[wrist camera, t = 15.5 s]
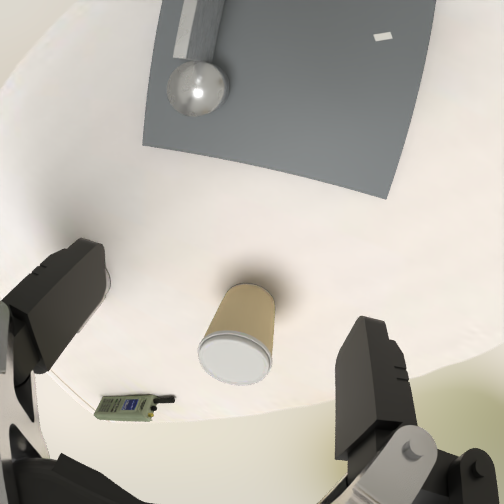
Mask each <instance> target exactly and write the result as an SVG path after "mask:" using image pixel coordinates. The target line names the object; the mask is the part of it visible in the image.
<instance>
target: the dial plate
mask: <svg viewBox="0 0 504 504" xmlns="http://www.w3.org/2000/svg"><path fill="white" fill-rule="evenodd" d="M183 4H184V0H163V1H162V6H161V11H160V16H159V21H158V26H157V32H156V37H155V43H154V49H153V56H152V62H151V69H150V77H149V84H148V92H147V101H146V110H145V120H144V132H143V144H142V145H143V146H150V147H156V148H163V149H169V150H175V151H181V152H187V153H193V154H198V155H204V156H209V157H215V158H220V159H225V160H230V161H235V162H240V163H245V164H249V165H254V166H259V167H263V168H268V169H272V170H276V171H281V172H285V173H289V174H293V175H298V176H302V177H306V178H310V179H314V180H318V181H322V182H325V183H329V184H333V185H337V186H340V187H344V188H348V189H351V190H355V191H358V192H362V193H365V194H369V195H372V196H376V197H379V198H382V199H387V196H388V193H389V190H390V187H391V184H392V181H393V178H394V175H395V172H396V169H397V166H398V163H399V159H400V156H401V153H402V149H403V146H404V143H405V139H406V136H407V132H408V129H409V125H410V122H411V118H412V114H413V110H414V107H415V103H416V99H417V95H418V91H419V87H420V82H421V78H422V74H423V69H424V65H425V60H426V55H427V50H428V45H429V40H430V35H431V29H432V23H433V17H434V11H435V4H436V0H225V2H224V7H223V11H222V16H221V20H220V25H219V30H218V35H217V39H216V44H215V49H214V55H213V60H212V63H213V64H215V65H217V66H219V67H220V68H221V69H222V70H223V71H224V72H225V73H226V75H227V77H228V80H229V86H230V89H229V94H228V97H227V99H226V101H225V102H224V104H223V105H222V106H221V107H220V108H218V109H217V110H215V111H213V112H210V113H207V114H204V115H201V116H194V117H193V116H186V115H183V114H181V113H179V112H178V111H177V110H176V109H174V107H173V106H172V105H171V103H170V101H169V99H168V96H167V84H168V80H169V78H170V76H171V74H172V73H173V71H174V70H175V69H176V68H177V67H179V66H180V65H182V64H184V63H186V62H189V61H194V60H188V59H180V58H173V54H174V48H175V43H176V37H177V32H178V27H179V22H180V18H181V13H182V8H183ZM208 63H209V62H208Z"/></svg>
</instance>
